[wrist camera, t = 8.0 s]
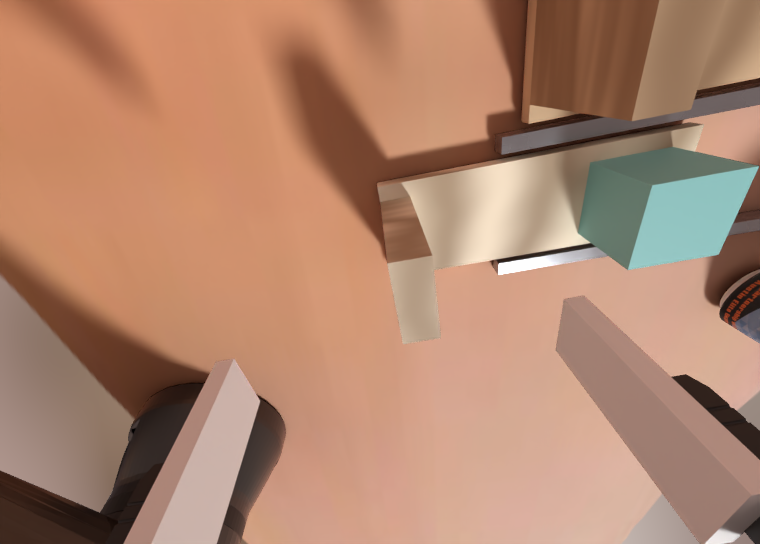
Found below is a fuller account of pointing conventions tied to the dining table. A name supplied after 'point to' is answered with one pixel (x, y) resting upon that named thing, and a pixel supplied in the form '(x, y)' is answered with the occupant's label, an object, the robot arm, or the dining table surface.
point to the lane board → (606, 125)
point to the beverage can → (743, 305)
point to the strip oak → (634, 55)
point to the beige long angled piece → (492, 214)
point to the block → (662, 205)
